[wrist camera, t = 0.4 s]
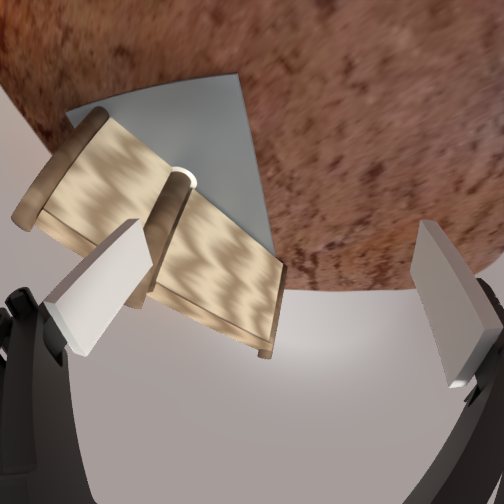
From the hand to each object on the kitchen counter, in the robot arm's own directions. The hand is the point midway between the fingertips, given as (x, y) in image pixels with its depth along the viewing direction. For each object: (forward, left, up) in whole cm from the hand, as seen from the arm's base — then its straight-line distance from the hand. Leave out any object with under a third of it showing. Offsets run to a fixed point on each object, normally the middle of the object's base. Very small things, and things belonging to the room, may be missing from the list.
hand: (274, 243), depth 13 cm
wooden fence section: (+6, -19, -16) cm, 25 cm away
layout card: (+16, -17, -16) cm, 28 cm away
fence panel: (+23, -9, -16) cm, 29 cm away
